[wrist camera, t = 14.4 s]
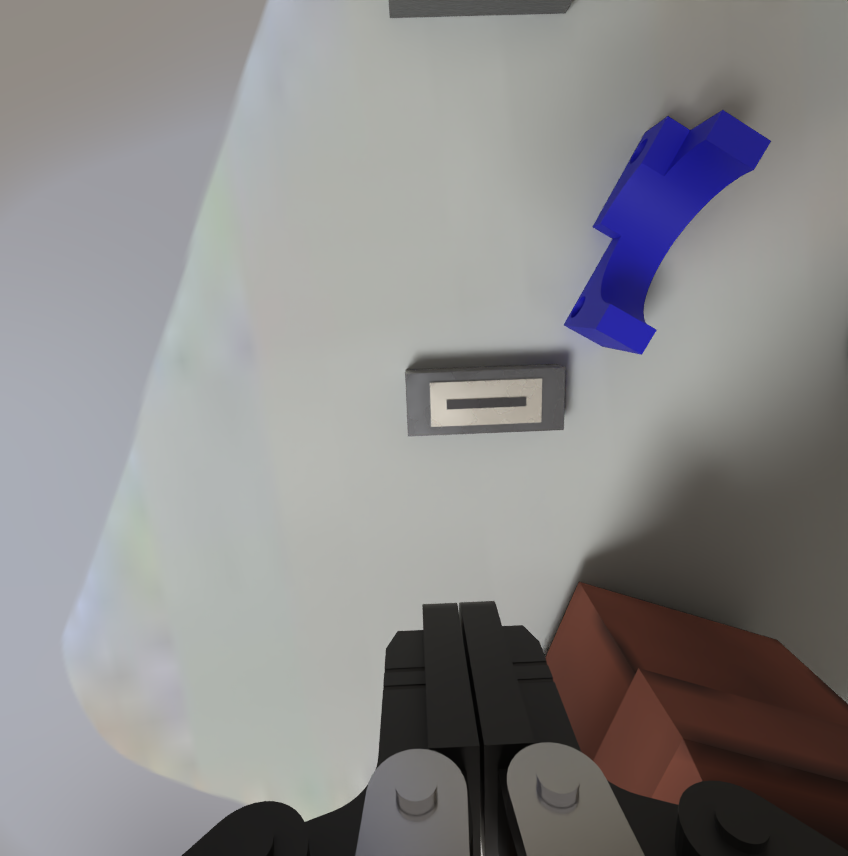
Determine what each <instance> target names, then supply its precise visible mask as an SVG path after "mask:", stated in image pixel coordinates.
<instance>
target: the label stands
mask: <svg viewBox="0 0 848 856" xmlns="http://www.w3.org/2000/svg"><path fill="white" fill-rule="evenodd" d="M571 1H572V0H389V11H390V18H403V17H441V16H478V15H516V14H554V13H566V11H567V9H568V7H569V5H570V3H571ZM405 378H406V401H407V423H408V436H427V435H451V434H475V433H499V432H523V431H548V430H564V400H565V367H563V366H560V365H558V364H545V365H520V366H494V367H468V368H443V369H417V370H406V371H405Z"/></svg>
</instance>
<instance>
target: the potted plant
mask: <svg viewBox="0 0 848 856" xmlns="http://www.w3.org/2000/svg"><path fill="white" fill-rule="evenodd" d="M545 658H546V661H547V665H548V666H549V669H550V671H551V674H552V676H553V682H555V684H556V687H557V689H558V692H559V695H560V697H561V700H562V702H563V705H564V708H565V710H566V713H567V716H568V718H569V721H570V723H571V726H572V729H573V731H574V734H575V736H576V739H577V742H578V744H579V747H580V749H581V751H582V753H583V754H585V755H586V756H588V757H589V758H590V759H591V760H592V761H593V762H594V763H595V764H596V765H597V766H598V767H599V768H600V769H601V771H602V772H603V774H604V776H605V777H606V779H607V780H608V781H609V782H611V783H613V784H614V785H616V786H618V787H620V788H622V789H624V790H626V791H629V792H632V793H635V794H638V795H641V796H645V797H649V798H653V799H657V800H661V801H665V802H669V803H673V804H677V805H679V801H680V797H681V796H682V794H683V792H684V791H685V790H686V789H687V788H688V787H690V786H691V785H693V784H695V783H698V782H702V781H722V782H727V783H731V784H735V785H738V786H741V787H743V788H745V789H747V790H750V791H752V792H753V793H755V794H757V795H759V796H761V797H762V798H764V799H765V800H767V801H769V802H770V803H772V804H774V805H775V806H777V807H778V808H780V809H782V810H783V811H785V812H786V813H788V814H790V815H791V816H793V817H794V818H796V819H798V820H799V821H801V822H802V823H804V824H806V825H807V826H809V827H810V828H812V829H814V830H815V831H817V832H819V833H820V834H822V835H823V836H825V837H827V838H828V839H830V840H831V841H833V842H835V843H836V844H838V845H839V846H841V847H843V848H844V849H846V850H847V851H848V704H847V703H846V702H845V701H844V700H843V699H842V698H840V697H839V696H838V695H837V694H836V693H835V692H834V691H833V690H832V689H831V688H829V687H828V686H827V685H826V684H825V683H824V682H823V681H822V680H821V679H820V678H818V677H817V676H816V675H815V674H814V673H813V672H812V671H811V670H810V669H809V668H807V667H806V666H805V665H804V664H803V663H802V662H801V661H800V660H799V659H798V658H796V657H795V656H794V655H793V654H792V653H791V652H790V651H789V650H788V649H787V648H785V647H784V646H783V645H782V644H781V643H780V642H779V641H778V640H775V639H772V638H769V637H765V636H762V635H758V634H755V633H752V632H748V631H745V630H741V629H738V628H735V627H731V626H728V625H724V624H721V623H718V622H714V621H711V620H707V619H704V618H701V617H697V616H694V615H690V614H687V613H684V612H680V611H677V610H673V609H670V608H667V607H663V606H660V605H656V604H653V603H650V602H646V601H643V600H639V599H636V598H633V597H629V596H626V595H622V594H619V593H616V592H612V591H609V590H606V589H602V588H599V587H595V586H592V585H589V584H585V583H582V582H579V583H578V585H577V587H576V589H575V592H574V594H573V596H572V599H571V601H570V603H569V605H568V608H567V610H566V612H565V614H564V617H563V619H562V621H561V623H560V626H559V628H558V630H557V633H556V635H555V637H554V639H553V642H552V644H551V646H550V648H549V651H548V653H547V655H546V657H545Z"/></svg>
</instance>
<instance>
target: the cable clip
mask: <svg viewBox="0 0 848 856" xmlns="http://www.w3.org/2000/svg"><path fill="white" fill-rule="evenodd" d="M770 142H771V141H770V140H769V139H767V138H765V137H764V136H762V135H761V134H759V133H758V132H756V131H755V130H753V129H752V128H750V127H748V126H747V125H745V124H744V123H742V122H741V121H739V120H738V119H736V118H735V117H733V116H731V115H730V114H728V113H727V112H725V111H724V110H722V111H720V112H719V113H717V114H715V115H714V116H712V117H711V118H709V119H707V120H706V121H704V122H703V123H701V124H699V125H698V126H696V127H695V128H693V129H692V130H689V129H688V128H686V127H684V126H683V125H681V124H680V123H678V122H677V121H675V120H673V119H672V118H670V117H669V116H667V117H666V118H665V119H663V120H662V121H661V122H659V123H658V124H656V125H655V126H654V127H652V128H651V129H650V130H648V131H647V132H646V133H645V134H644V135H643V137H642V139H641V141H640V143H639V144H638V146H637V148H636V150H635V152H634V153H633V155H632V157H631V159H630V161H629V162H628V164H627V166H626V168H625V170H624V171H623V173H622V175H621V177H620V179H619V180H618V182H617V184H616V186H615V188H614V189H613V191H612V193H611V195H610V197H609V198H608V200H607V202H606V204H605V206H604V207H603V209H602V211H601V213H600V214H599V216H598V218H597V220H596V222H595V223H594V225H593V228H595V229H597V230H599V231H600V232H602V233H604V234H605V235H607V236H609V237H611V238H612V241H611V243H610V244H609V246H608V248H607V250H606V251H605V253H604V255H603V257H602V258H601V260H600V262H599V264H598V266H597V267H596V269H595V271H594V273H593V274H592V276H591V278H590V280H589V281H588V283H587V285H586V287H585V288H584V290H583V292H582V294H581V295H580V297H579V299H578V301H577V303H576V304H575V306H574V308H573V310H572V311H571V313H570V315H569V317H568V318H567V320H566V322H565V324H564V326H566V327H568V328H570V329H572V330H573V331H575V332H577V333H579V334H581V335H583V336H584V337H586V338H588V339H590V340H592V341H593V342H595V343H597V344H599V345H601V346H603V347H608V348H612V349H617V350H622V351H627V352H632V353H637V354H641V355H642V353H643V352H644V350H645V348H646V347H647V345H648V343H649V342H650V340H651V338H652V337H653V335H654V333H655V332H656V329H654V328H653V327H651V326H649V325H647V324H646V322H645V320H644V314H643V310H644V302H645V298H646V294H647V291H648V288H649V286H650V283H651V281H652V279H653V277H654V274H655V272H656V270H657V269H658V267H659V265H660V263H661V261H662V260H663V258H664V256H665V255H666V253H667V252H668V250H669V249H670V247H671V246H672V244H673V243H674V241H675V240H676V239H677V237H678V236H679V235H680V233H681V232H682V231H683V229H684V228H685V227H686V226H687V225H688V223H689V222H690V221H691V220H692V219H693V218H694V216H695V215H696V214H697V213H698V212H699V211H700V210H701V209H702V208H703V207H704V206H705V205H706V204H707V203H708V202H709V201H710V200H711V199H712V198H713V197H714V196H715V195H717V194H718V193H719V192H720V191H721V190H723V189H724V188H725V187H726V186H728V185H729V184H730V183H732V182H733V181H734V180H736V179H738V178H739V177H741V176H742V175H744V174H746V173H748V172H750V171H752V170H754V169H755V167H756V165H757V164H758V162H759V160H760V159H761V157H762V155H763V154H764V152H765V150H766V149H767V147H768V146H769V144H770Z"/></svg>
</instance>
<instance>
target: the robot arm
mask: <svg viewBox="0 0 848 856" xmlns="http://www.w3.org/2000/svg"><path fill="white" fill-rule="evenodd" d="M383 686H384V690H383V700H382V714H381V728H380V742H379V756H378V763H377V767H376V770H375V772H374V773H373V775H372V776H371V779H370V781H369V783H368V785H367V787H366V788H365V789H364V790H363V791H362V792H361V793H360V794H359V795H358V796H357V797H356V798H355V799H354V800H352V801H351V802H350V803H348V804H346V805H345V806H343V807H341V808H339V809H337V810H335V811H333V812H330V813H327V814H325V815H322V816H320V817H317V818H314V819H312V820H309V821H306V822H304V820H303V819H302V817H301V815H300V814H299V813H298V812H297V811H296V810H295V809H293V808H292V807H290V806H288V805H286V804H283V803H280V802H274V801H264V802H258V803H253V804H250V805H247V806H244V807H242V808H240V809H238V810H236V811H234V812H233V813H231V814H230V815H228V816H227V817H225V818H224V819H223V820H221V821H220V822H219V823H218V824H217V825H216V826H214V827H213V828H212V829H211V830H210V831H209V832H208V833H207V834H205V835H204V836H203V837H202V838H201V839H200V840H199V841H198V842H197V843H195V844H194V845H193V846H192V847H191V848H190V849H189V850H188V851H186V852H185V853H184V854H183V855H182V856H481V844H482V852H483V856H848V851H847V850H846V849H844V848H843V847H841V846H839V845H838V844H836V843H835V842H833V841H831V840H830V839H828V838H827V837H825V836H823V835H822V834H820V833H819V832H817V831H815V830H814V829H812V828H810V827H809V826H807V825H806V824H804V823H802V822H801V821H799V820H798V819H796V818H794V817H793V816H791V815H790V814H788V813H786V812H785V811H783V810H782V809H780V808H778V807H777V806H775V805H774V804H772V803H770V802H769V801H767V800H765V799H764V798H762V797H761V796H759V795H757V794H755V793H753V792H752V791H750V790H747V789H745V788H743V787H741V786H738V785H735V784H731V783H727V782H722V781H702V782H698V783H695V784H693V785H691V786H690V787H688V788H687V789H686V790H685V791H684V792H683V794H682V796H681V797H680V801H679V805H677V804H673V803H669V802H665V801H661V800H657V799H653V798H649V797H645V796H641V795H638V794H635V793H632V792H629V791H626V790H624V789H622V788H620V787H618V786H616V785H614V784H613V783H611V782H609V781H608V780H607V779H606V777H605V776H604V774H603V772H602V771H601V769H600V768H599V767H598V766H597V765H596V764H595V763H594V762H593V761H592V760H591V759H590V758H589V757H588V756H586V755H585V754H583V753H582V751H581V749H580V747H579V744H578V742H577V739H576V736H575V734H574V731H573V729H572V726H571V723H570V721H569V718H568V716H567V713H566V710H565V708H564V705H563V702H562V700H561V697H560V695H559V692H558V689H557V687H556V684H555V682H553V676H552V674H551V671H550V669H549V666H548V665H547V661H546V658H545V655H544V653H543V650H542V648H541V645H540V642H539V641H538V640H537V639H536V638H535V637H534V636H533V635H532V634H531V633H530V632H529V631H528V630H527V629H526V628H525V627H524V626H523V625H520V626H502V625H501V621H500V618H499V614H498V610H497V607H496V604H495V602H494V601H484V602H462V603H459V612H458V606H457V603H443V604H423V630H414V631H398V632H397V633H396V635H395V636H394V638H393V639H392V641H391V642H390V644H389V645H388V647H387V648H386V657H385V673H384V685H383ZM480 837H481V840H480Z"/></svg>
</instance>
